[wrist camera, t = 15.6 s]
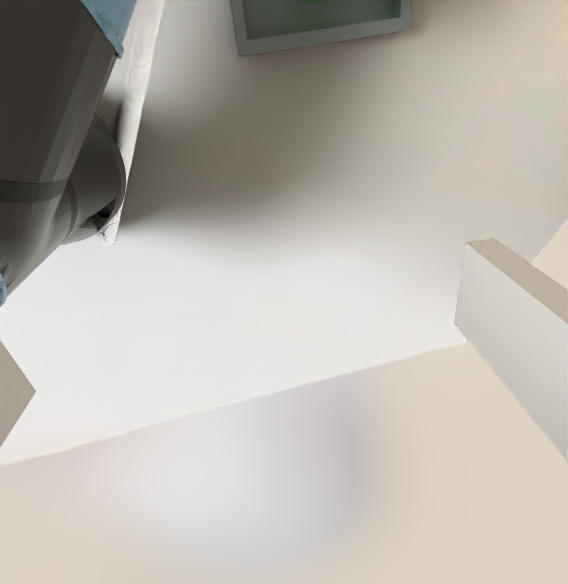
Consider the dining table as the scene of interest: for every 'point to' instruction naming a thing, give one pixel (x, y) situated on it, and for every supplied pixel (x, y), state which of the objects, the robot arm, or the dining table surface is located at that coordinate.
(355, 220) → the dining table surface
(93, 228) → the robot arm
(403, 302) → the dining table surface
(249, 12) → the tray
